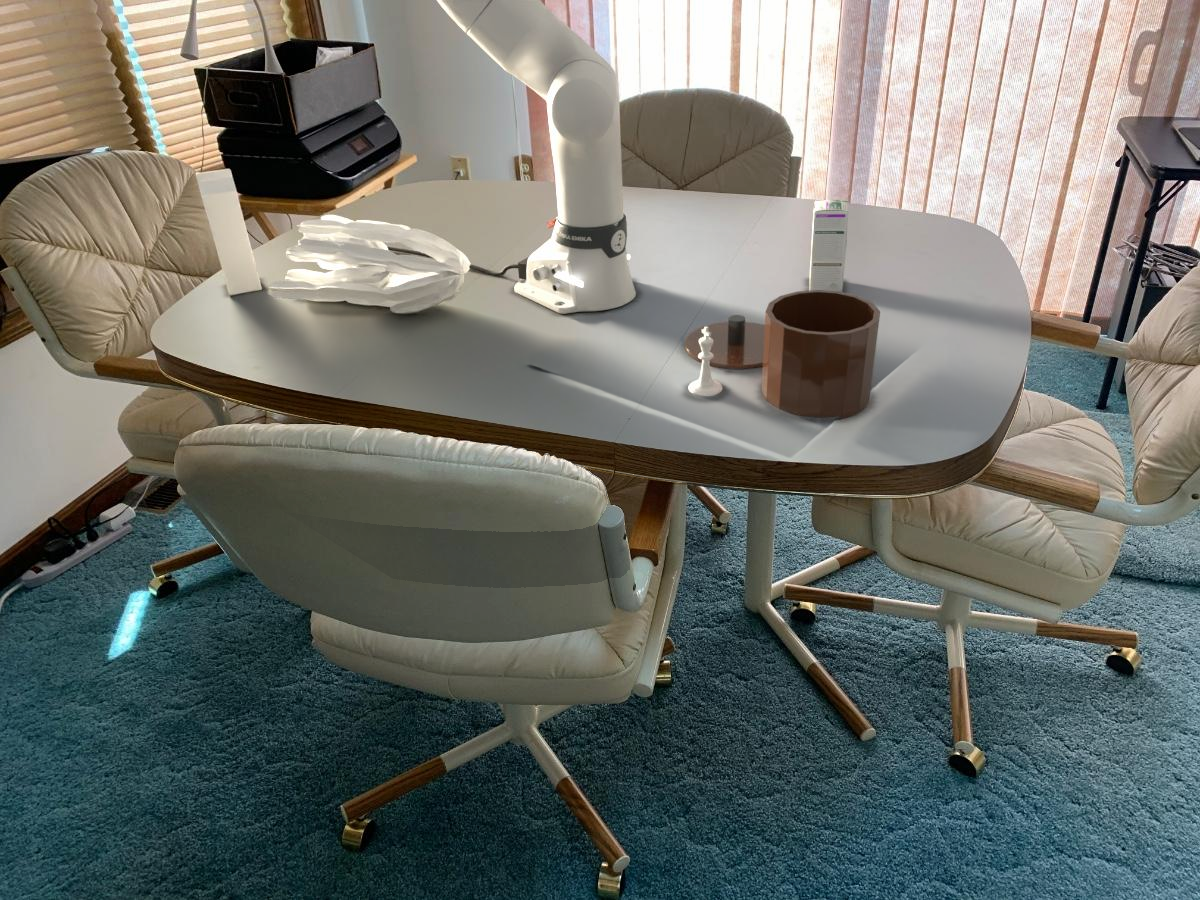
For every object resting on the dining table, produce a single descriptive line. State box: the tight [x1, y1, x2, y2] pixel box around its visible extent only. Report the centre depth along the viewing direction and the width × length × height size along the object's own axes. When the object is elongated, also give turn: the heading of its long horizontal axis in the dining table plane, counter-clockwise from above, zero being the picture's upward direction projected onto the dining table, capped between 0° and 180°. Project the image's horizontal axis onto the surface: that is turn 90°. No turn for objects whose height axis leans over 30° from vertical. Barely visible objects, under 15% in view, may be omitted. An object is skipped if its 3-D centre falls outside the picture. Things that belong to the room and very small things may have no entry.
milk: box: [195, 168, 263, 296], centre depth 168 cm, size 6×6×22 cm
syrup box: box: [808, 199, 849, 292], centre depth 156 cm, size 6×6×14 cm
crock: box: [761, 290, 881, 421], centre depth 124 cm, size 15×15×13 cm
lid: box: [684, 314, 765, 370], centre depth 139 cm, size 16×16×5 cm
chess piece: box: [688, 325, 723, 397], centre depth 127 cm, size 5×5×10 cm
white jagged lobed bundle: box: [267, 214, 471, 315], centre depth 159 cm, size 17×18×35 cm
